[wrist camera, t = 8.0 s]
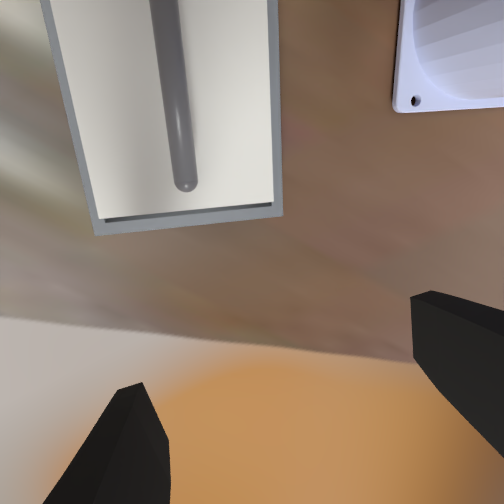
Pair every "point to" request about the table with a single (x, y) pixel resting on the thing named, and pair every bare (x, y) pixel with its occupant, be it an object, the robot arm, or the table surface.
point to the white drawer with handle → (170, 101)
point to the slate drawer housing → (187, 216)
